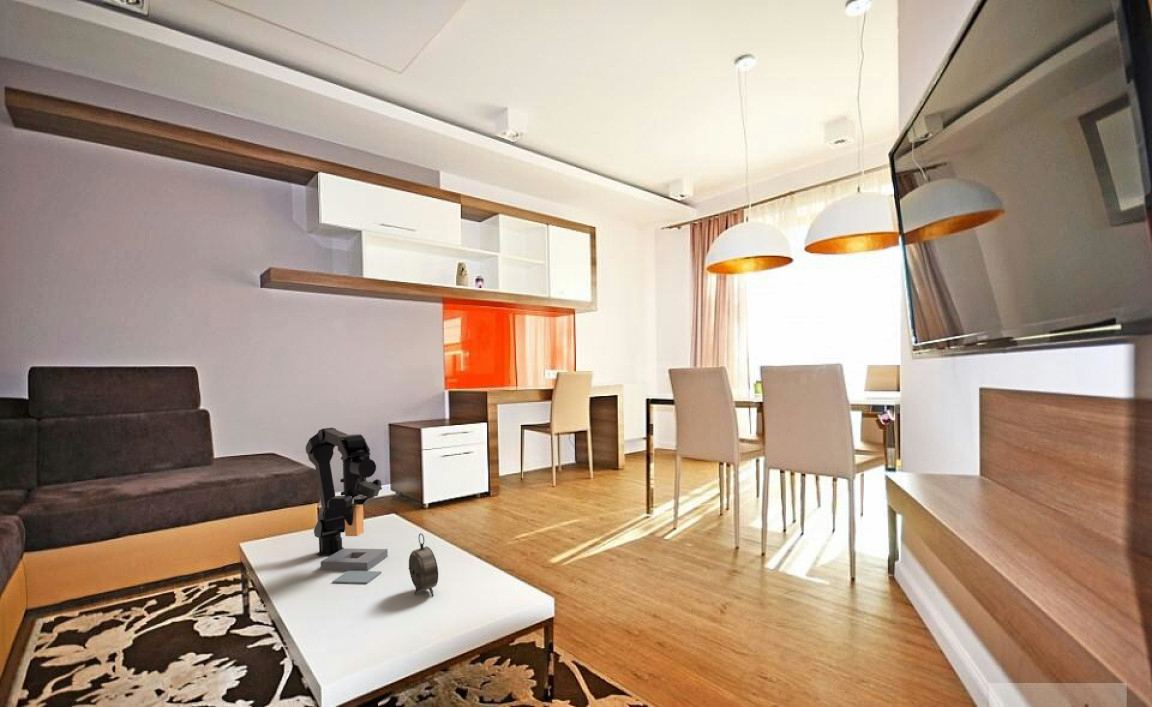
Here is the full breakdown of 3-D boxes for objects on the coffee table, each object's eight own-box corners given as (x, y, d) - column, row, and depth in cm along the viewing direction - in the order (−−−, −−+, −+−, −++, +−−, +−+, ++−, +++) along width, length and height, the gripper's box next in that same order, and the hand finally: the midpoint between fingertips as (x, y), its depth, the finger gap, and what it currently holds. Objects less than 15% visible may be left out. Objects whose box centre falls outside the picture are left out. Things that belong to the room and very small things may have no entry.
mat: (332, 583, 153) (332, 581, 153) (348, 572, 161) (348, 570, 161) (366, 583, 151) (366, 582, 151) (381, 573, 159) (381, 571, 159)
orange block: (345, 536, 166) (344, 507, 166) (352, 532, 170) (351, 504, 170) (356, 536, 165) (356, 507, 166) (364, 532, 169) (363, 504, 170)
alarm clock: (440, 596, 141) (438, 535, 142) (420, 602, 138) (418, 540, 138) (424, 583, 150) (423, 526, 150) (406, 589, 146) (404, 531, 147)
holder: (320, 569, 164) (320, 561, 164) (343, 555, 176) (343, 548, 176) (367, 570, 162) (367, 562, 162) (387, 556, 173) (387, 549, 174)
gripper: (359, 480, 158) (361, 532, 157) (390, 468, 176) (392, 515, 176) (325, 480, 160) (327, 532, 159) (360, 468, 178) (361, 515, 178)
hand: (354, 523), depth 168 cm, fingers closed on orange block, 4 cm apart
